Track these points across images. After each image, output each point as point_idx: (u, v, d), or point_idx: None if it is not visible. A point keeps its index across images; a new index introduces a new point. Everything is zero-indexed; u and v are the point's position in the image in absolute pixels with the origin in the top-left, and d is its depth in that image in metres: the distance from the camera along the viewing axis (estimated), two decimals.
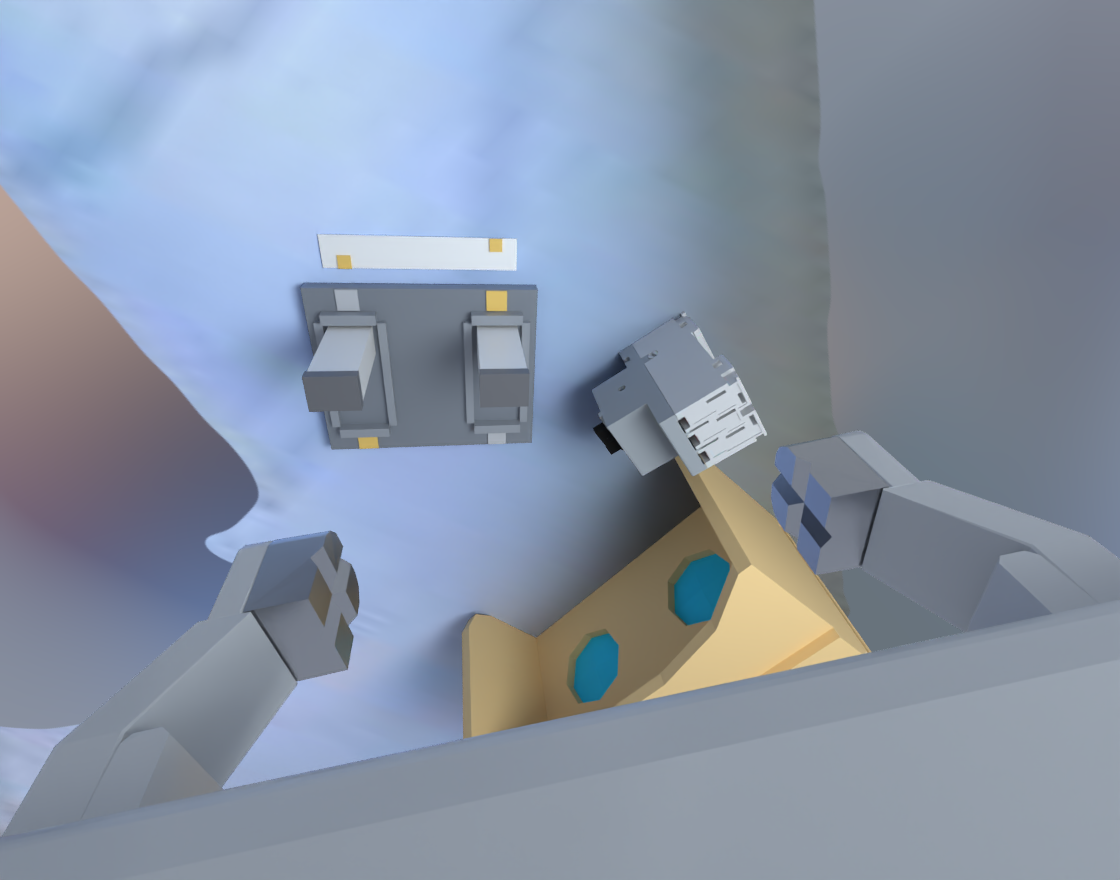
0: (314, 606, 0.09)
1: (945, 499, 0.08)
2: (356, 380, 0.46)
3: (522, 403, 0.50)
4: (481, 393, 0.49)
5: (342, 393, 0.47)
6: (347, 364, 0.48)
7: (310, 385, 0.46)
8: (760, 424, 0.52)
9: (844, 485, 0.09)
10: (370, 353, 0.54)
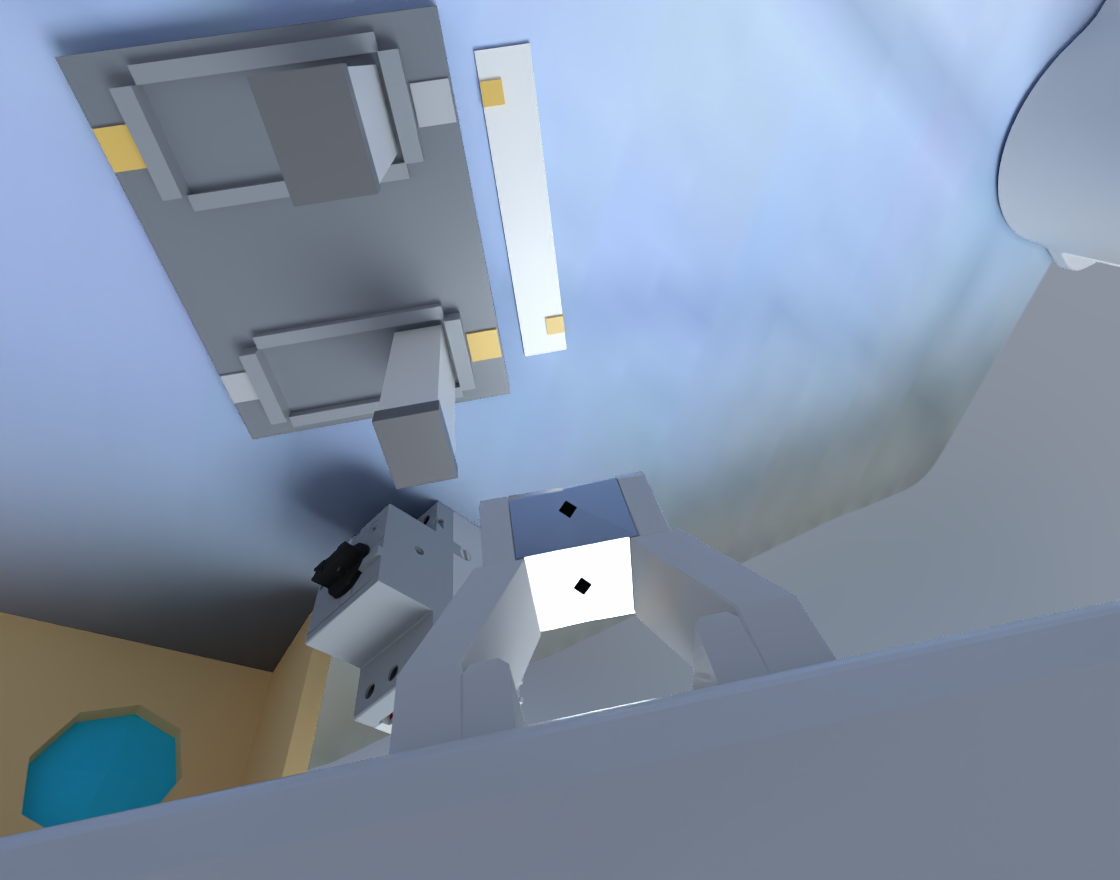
0: None
1: (681, 551, 0.08)
2: (367, 192, 0.22)
3: (399, 480, 0.29)
4: (401, 419, 0.27)
5: (325, 161, 0.21)
6: (374, 153, 0.23)
7: (324, 84, 0.20)
8: None
9: (595, 533, 0.09)
10: None
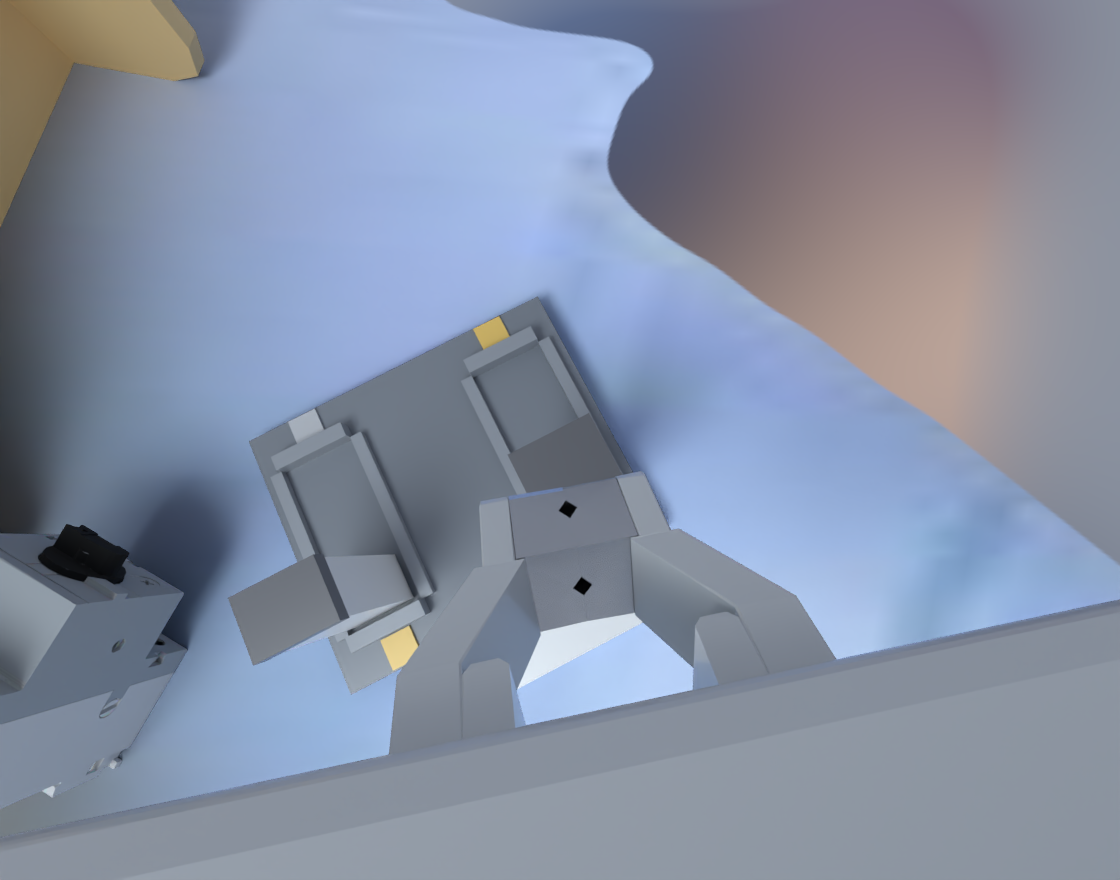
0: None
1: (681, 551, 0.08)
2: None
3: (241, 599, 0.25)
4: (321, 584, 0.25)
5: (549, 473, 0.26)
6: None
7: (603, 464, 0.26)
8: None
9: (595, 533, 0.09)
10: None
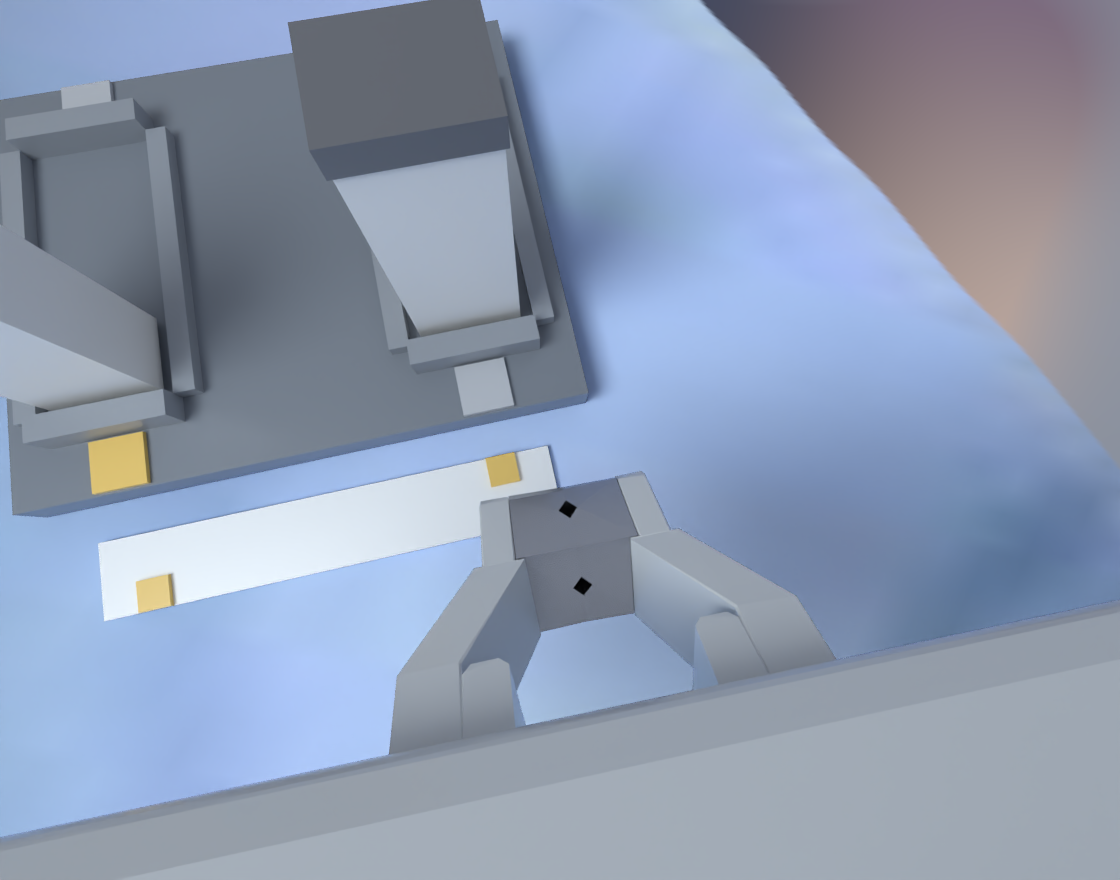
0: None
1: (681, 551, 0.08)
2: (310, 133, 0.12)
3: None
4: None
5: (361, 76, 0.12)
6: (391, 205, 0.14)
7: (476, 89, 0.12)
8: None
9: (595, 533, 0.09)
10: None
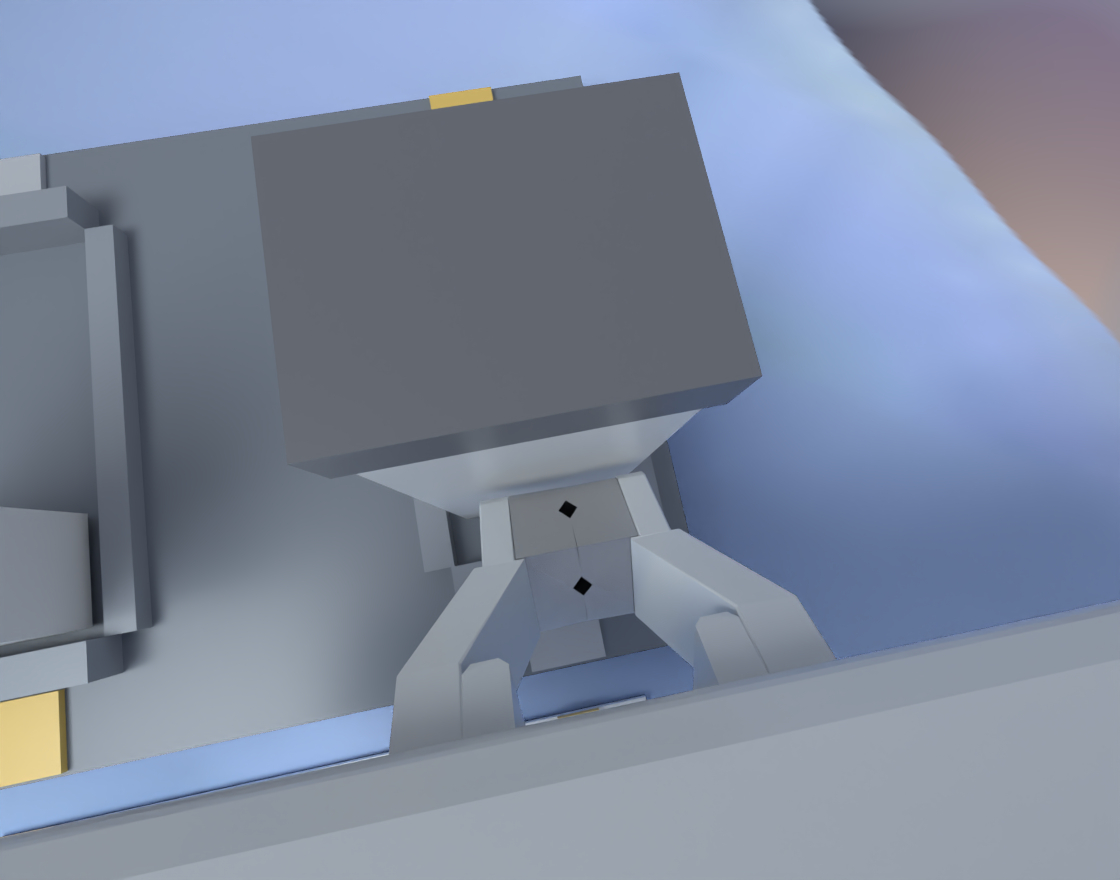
0: None
1: (681, 551, 0.08)
2: (292, 419, 0.05)
3: None
4: None
5: (417, 271, 0.05)
6: (456, 468, 0.07)
7: (686, 307, 0.05)
8: None
9: (595, 533, 0.09)
10: None
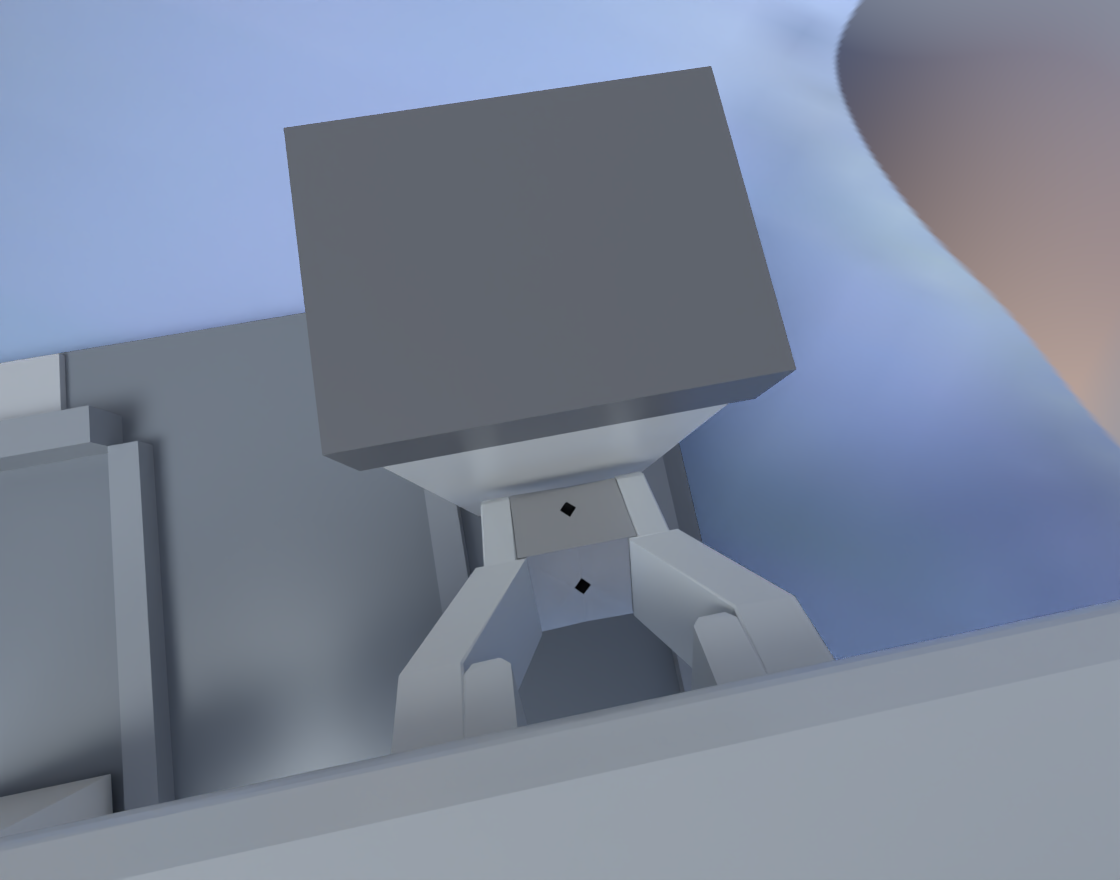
0: None
1: (680, 551, 0.08)
2: (327, 410, 0.05)
3: None
4: None
5: (450, 263, 0.05)
6: (480, 462, 0.07)
7: (719, 300, 0.05)
8: None
9: (594, 534, 0.09)
10: None
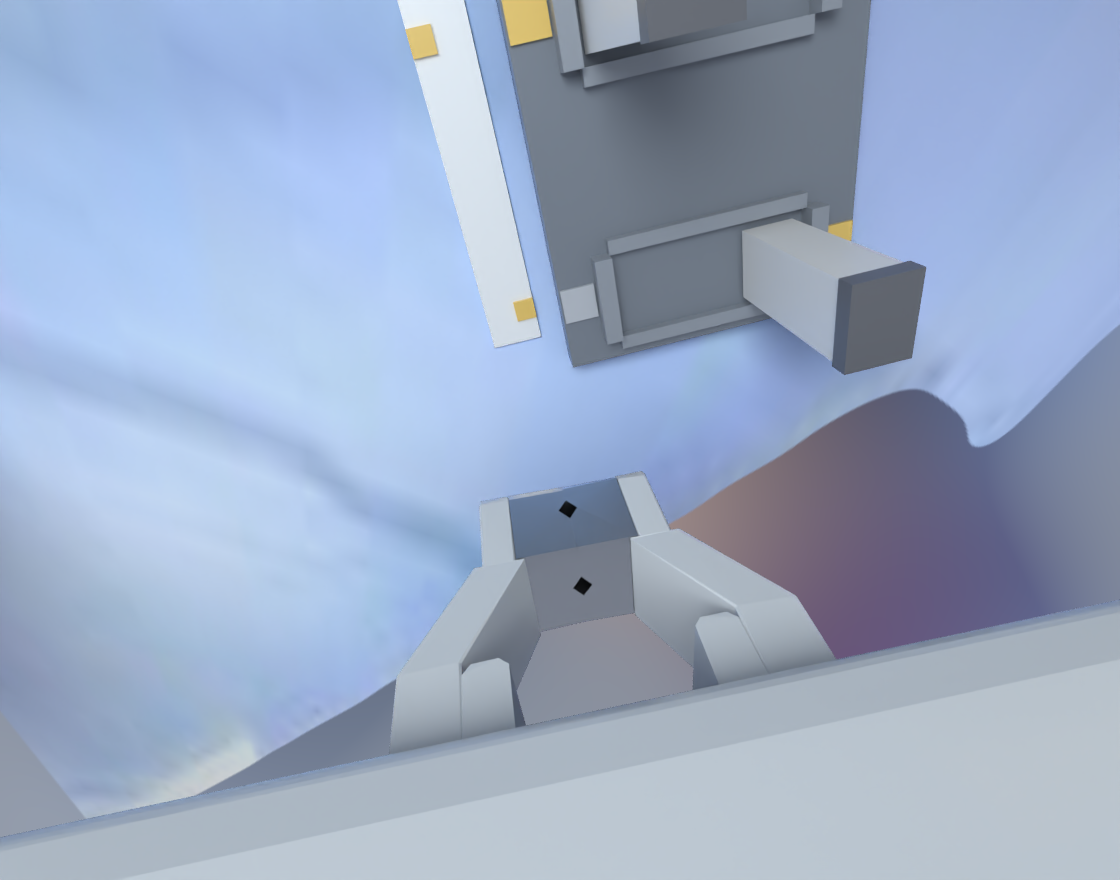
0: None
1: (682, 551, 0.08)
2: (860, 285, 0.24)
3: None
4: (704, 24, 0.18)
5: (884, 307, 0.24)
6: (821, 292, 0.26)
7: (861, 360, 0.25)
8: None
9: (595, 533, 0.09)
10: (794, 235, 0.30)
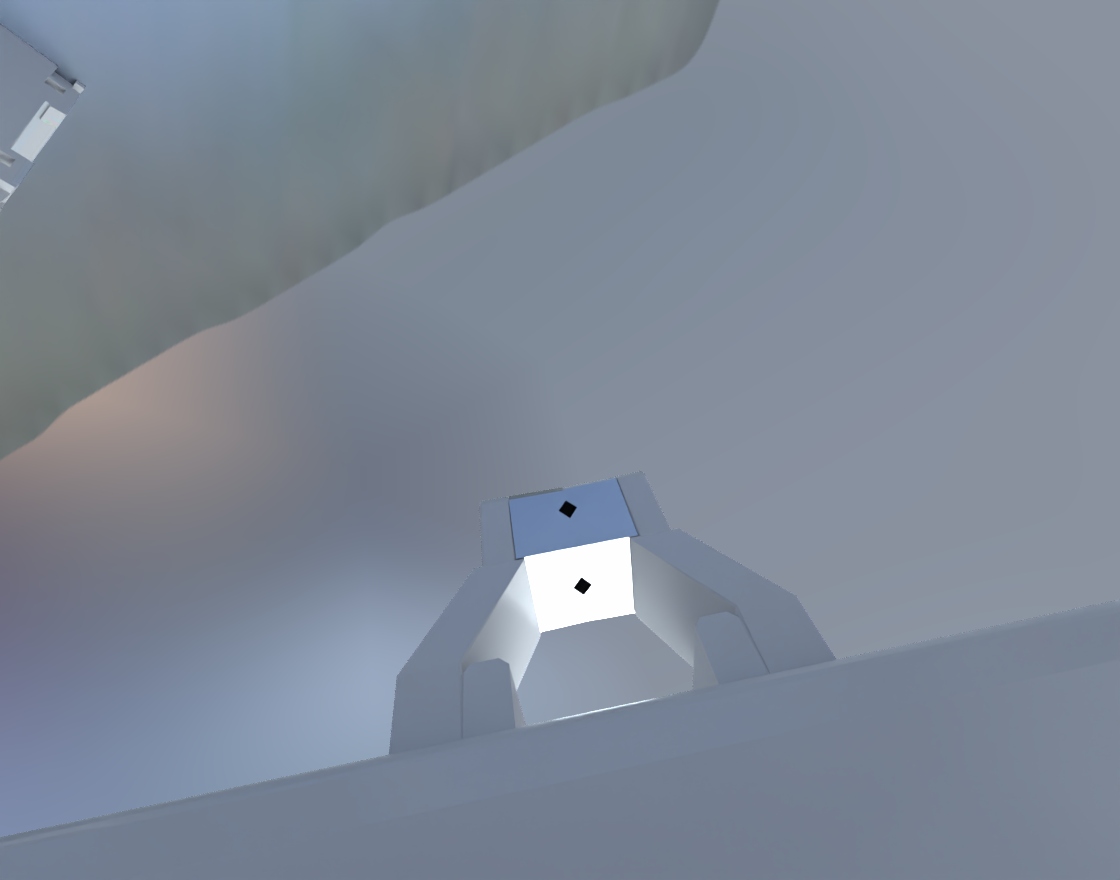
0: None
1: (682, 551, 0.08)
2: None
3: None
4: None
5: None
6: None
7: None
8: None
9: (595, 533, 0.09)
10: None
